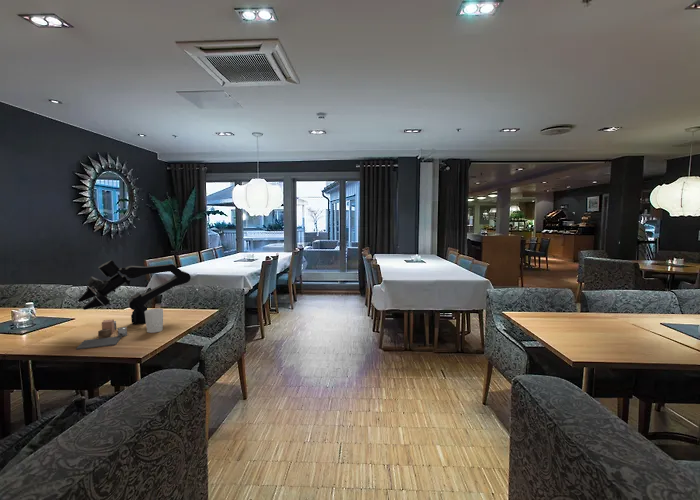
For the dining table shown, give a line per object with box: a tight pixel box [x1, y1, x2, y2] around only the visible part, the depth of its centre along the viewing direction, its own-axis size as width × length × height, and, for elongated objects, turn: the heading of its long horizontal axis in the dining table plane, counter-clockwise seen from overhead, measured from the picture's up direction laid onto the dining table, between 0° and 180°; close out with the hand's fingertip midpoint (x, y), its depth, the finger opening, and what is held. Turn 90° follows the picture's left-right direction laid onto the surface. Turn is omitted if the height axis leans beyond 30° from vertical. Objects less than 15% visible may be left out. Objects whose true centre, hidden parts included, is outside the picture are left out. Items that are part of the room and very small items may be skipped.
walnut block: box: [97, 328, 112, 339], centre depth 160 cm, size 4×4×4 cm
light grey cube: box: [116, 326, 128, 338], centre depth 162 cm, size 4×4×4 cm
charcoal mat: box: [76, 335, 122, 351], centre depth 153 cm, size 14×10×1 cm
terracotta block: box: [101, 318, 115, 335], centre depth 165 cm, size 4×4×6 cm
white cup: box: [145, 308, 164, 334], centre depth 169 cm, size 8×8×10 cm
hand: (80, 305), depth 165 cm, fingers open, 9 cm apart
